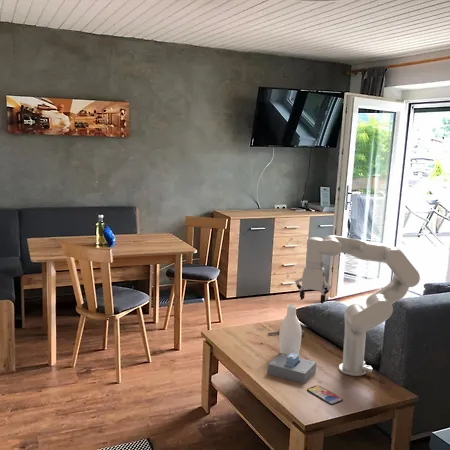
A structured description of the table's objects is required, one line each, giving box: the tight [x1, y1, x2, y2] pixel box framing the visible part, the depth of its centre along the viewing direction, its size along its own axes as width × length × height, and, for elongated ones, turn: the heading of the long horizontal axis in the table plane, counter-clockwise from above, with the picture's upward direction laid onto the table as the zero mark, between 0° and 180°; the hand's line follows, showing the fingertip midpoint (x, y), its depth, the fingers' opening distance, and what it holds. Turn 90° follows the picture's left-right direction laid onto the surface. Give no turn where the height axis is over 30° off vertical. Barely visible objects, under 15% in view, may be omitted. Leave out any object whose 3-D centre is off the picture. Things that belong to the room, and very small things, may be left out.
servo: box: [285, 353, 301, 368], centre depth 238 cm, size 4×9×8 cm, turn 149°
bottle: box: [278, 304, 303, 356], centre depth 256 cm, size 11×11×25 cm
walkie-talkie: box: [267, 328, 305, 338], centre depth 283 cm, size 9×4×20 cm
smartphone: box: [306, 384, 344, 406], centre depth 218 cm, size 7×1×15 cm
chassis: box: [267, 353, 317, 385], centre depth 238 cm, size 18×14×5 cm
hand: (312, 300), depth 237 cm, fingers open, 9 cm apart
